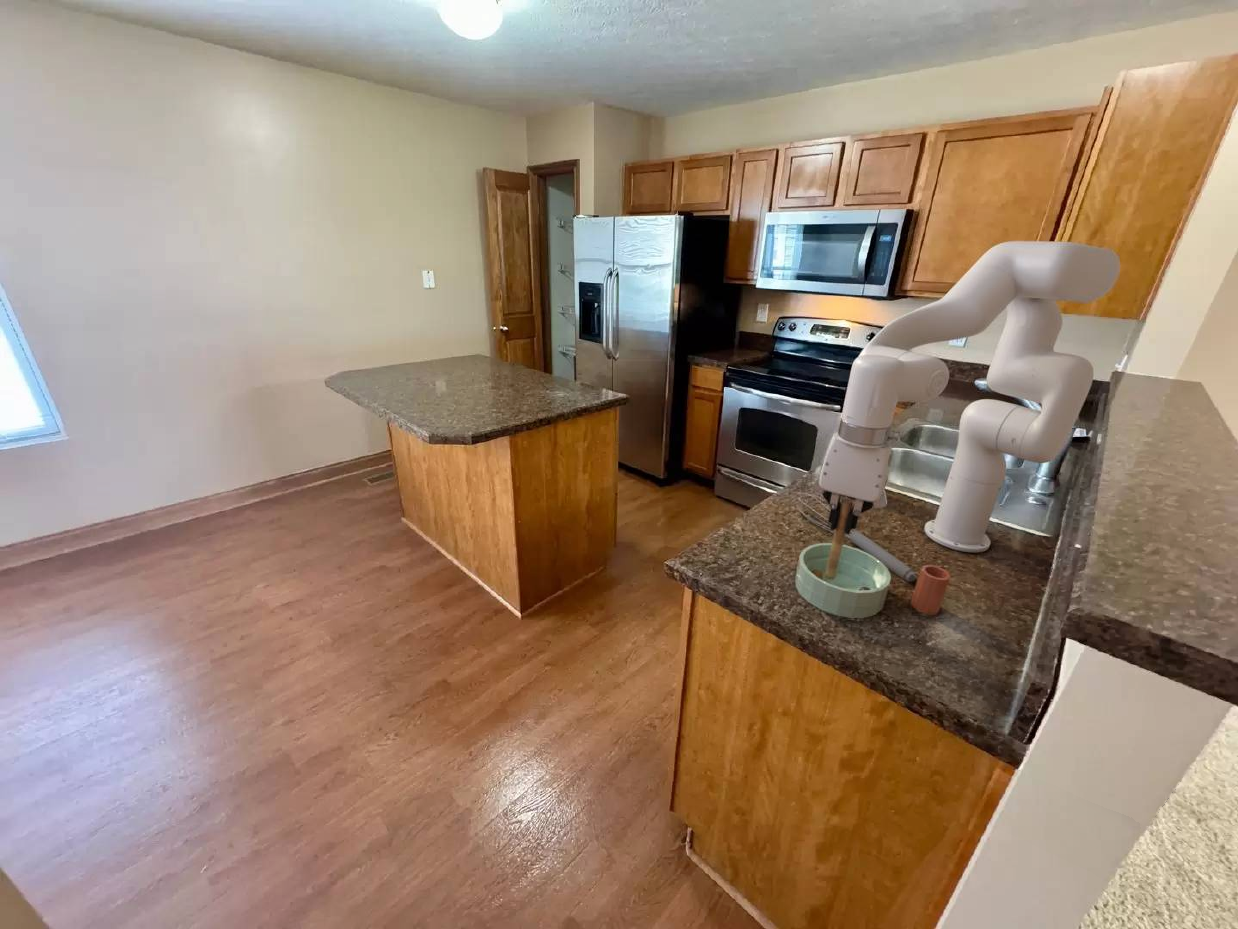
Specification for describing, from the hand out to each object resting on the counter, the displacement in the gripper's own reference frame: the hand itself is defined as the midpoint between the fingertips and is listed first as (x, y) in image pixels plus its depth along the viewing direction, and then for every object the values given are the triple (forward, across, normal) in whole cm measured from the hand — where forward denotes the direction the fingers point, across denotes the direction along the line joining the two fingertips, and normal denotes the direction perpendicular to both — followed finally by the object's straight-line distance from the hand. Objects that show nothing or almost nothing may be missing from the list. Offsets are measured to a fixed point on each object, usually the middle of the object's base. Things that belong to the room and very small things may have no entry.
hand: (841, 528), depth 91 cm
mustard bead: (+11, +2, 0) cm, 12 cm away
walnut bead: (+11, -6, 0) cm, 13 cm away
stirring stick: (+11, 0, 0) cm, 11 cm away
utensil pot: (+13, -16, -4) cm, 21 cm away
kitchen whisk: (+13, -1, -20) cm, 24 cm away
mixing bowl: (+13, -2, 0) cm, 13 cm away
